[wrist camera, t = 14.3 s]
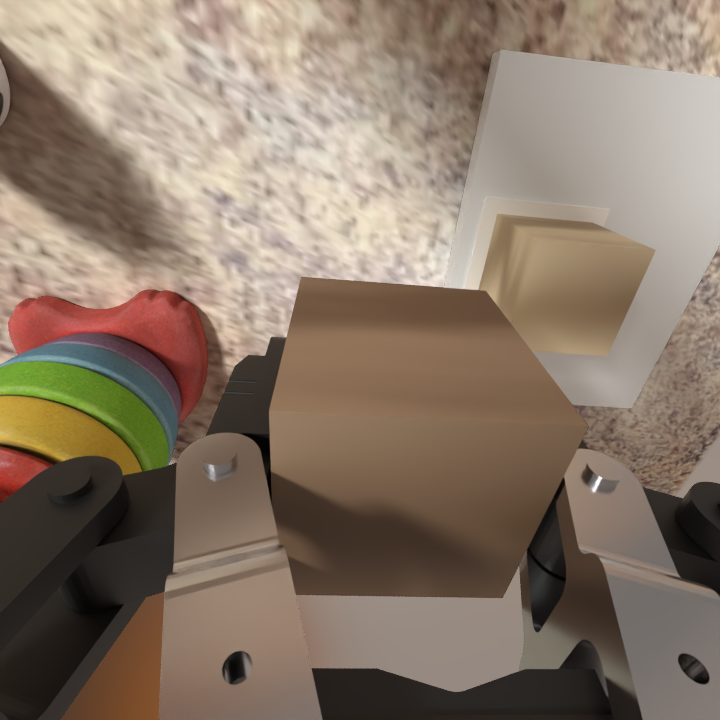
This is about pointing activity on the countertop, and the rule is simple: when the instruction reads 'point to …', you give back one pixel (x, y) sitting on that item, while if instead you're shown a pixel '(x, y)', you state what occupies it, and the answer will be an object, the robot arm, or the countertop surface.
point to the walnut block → (411, 442)
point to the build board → (600, 190)
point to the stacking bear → (98, 383)
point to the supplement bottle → (4, 94)
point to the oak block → (563, 281)
